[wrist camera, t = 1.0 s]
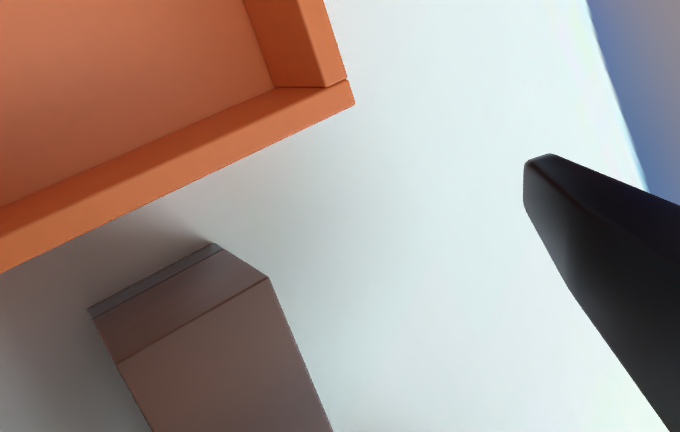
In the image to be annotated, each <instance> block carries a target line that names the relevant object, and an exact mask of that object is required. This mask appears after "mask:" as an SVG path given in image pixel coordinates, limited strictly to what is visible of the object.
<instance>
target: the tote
mask: <svg viewBox="0 0 680 432" xmlns="http://www.w3.org/2000/svg"><path fill="white" fill-rule="evenodd" d="M346 78H347V75H346V71H345V68H344V65H343V62H342V59H341V56H340V52H339V49H338V46H337V43H336V40H335V37H334V33H333V30H332V27H331V24H330V21H329V18H328V15H327V11H326V8H325V5H324V2H323V0H0V273H2V272H4V271H6V270H9V269H11V268H13V267H15V266H17V265H19V264H21V263H23V262H25V261H28V260H30V259H32V258H34V257H36V256H38V255H40V254H42V253H44V252H46V251H49V250H51V249H53V248H55V247H57V246H59V245H61V244H63V243H65V242H67V241H70V240H72V239H74V238H76V237H78V236H80V235H82V234H84V233H86V232H88V231H91V230H93V229H95V228H97V227H99V226H101V225H103V224H105V223H107V222H110V221H112V220H114V219H116V218H118V217H120V216H122V215H124V214H126V213H128V212H131V211H133V210H135V209H137V208H139V207H141V206H143V205H145V204H147V203H149V202H152V201H154V200H156V199H158V198H160V197H162V196H164V195H166V194H168V193H170V192H173V191H175V190H177V189H179V188H181V187H183V186H185V185H187V184H189V183H192V182H194V181H196V180H198V179H200V178H202V177H204V176H206V175H208V174H210V173H213V172H215V171H217V170H219V169H221V168H223V167H225V166H227V165H229V164H231V163H234V162H236V161H238V160H240V159H242V158H244V157H246V156H248V155H250V154H252V153H255V152H257V151H259V150H261V149H263V148H265V147H267V146H269V145H271V144H273V143H276V142H278V141H280V140H282V139H284V138H286V137H288V136H290V135H292V134H295V133H297V132H299V131H301V130H303V129H305V128H307V127H309V126H311V125H313V124H316V123H318V122H320V121H322V120H324V119H326V118H328V117H330V116H332V115H334V114H337V113H339V112H341V111H343V110H345V109H347V108H349V107H351V106H353V105H354V104H355V101H354V97H353V94H352V91H351V88H350V85H349V82H348V80H345V79H346Z"/></svg>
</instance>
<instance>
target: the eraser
mask: <svg viewBox="0 0 680 432" xmlns="http://www.w3.org/2000/svg"><path fill="white" fill-rule="evenodd" d="M87 313H88V315H89V317H90V319H91V321H92V322H93V324H94V326H95V328H96V330H97V332H98V334H99V336H100V338H101V340H102V342H103V343H104V345H105V347H106V349H107V351H108V353H109V355H110V357H111V359H112V361H113V363H114V364H115V366H116V368H117V370H118V372H119V373H120V375H121V377H122V379H123V380H124V382H125V384H126V386H127V388H128V389H129V391H130V393H131V395H132V396H133V398H134V400H135V402H136V403H137V405H138V407H139V409H140V411H141V412H142V414H143V416H144V418H145V419H146V421H147V423H148V425H149V426H150V428H151V430H152V432H333V430H332V428H331V425H330V423H329V420H328V418H327V416H326V413H325V411H324V408H323V406H322V404H321V401H320V399H319V397H318V394H317V392H316V389H315V387H314V385H313V382H312V380H311V377H310V375H309V373H308V370H307V368H306V366H305V363H304V361H303V358H302V356H301V354H300V351H299V349H298V346H297V344H296V342H295V339H294V337H293V334H292V332H291V330H290V327H289V325H288V323H287V320H286V318H285V315H284V313H283V311H282V308H281V306H280V303H279V301H278V299H277V296H276V294H275V291H274V289H273V287H272V284H271V282H270V280H269V277H267V276H266V275H264V274H263V273H261V272H260V271H258V270H257V269H255V268H253V267H252V266H250V265H249V264H247V263H246V262H244V261H242V260H241V259H239V258H238V257H236V256H235V255H233V254H231V253H230V252H228V251H227V250H225V249H223V248H222V247H220V246H219V245H217V244H215V243H212V244H210V245H208V246H206V247H204V248H202V249H201V250H199V251H197V252H195V253H193V254H191V255H189V256H187V257H185V258H183V259H182V260H180V261H178V262H176V263H174V264H172V265H170V266H168V267H166V268H164V269H163V270H161V271H159V272H157V273H155V274H153V275H151V276H149V277H147V278H145V279H144V280H142V281H140V282H138V283H136V284H134V285H132V286H130V287H128V288H126V289H125V290H123V291H121V292H119V293H117V294H115V295H113V296H111V297H109V298H107V299H106V300H104V301H102V302H100V303H98V304H96V305H94V306H92V307H90V308H88V309H87Z"/></svg>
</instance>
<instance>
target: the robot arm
mask: <svg viewBox="0 0 680 432" xmlns="http://www.w3.org/2000/svg"><path fill="white" fill-rule="evenodd" d="M523 203H524V207H525V210H526V212H527V214H528V216H529V218H530V220H531V221H532V223H533V225H534V227H535V229H536V231H537V232H538V234H539V236H540V238H541V240H542V242H543V243H544V245H545V247H546V249H547V251H548V253H549V254H550V256H551V258H552V260H553V262H554V264H555V265H556V267H557V269H558V271H559V273H560V275H561V276H562V278H563V280H564V282H565V283H566V285H567V287H568V289H569V290H570V292H571V293H572V295H573V296H574V298H575V299H576V300H577V302H578V303H579V305H580V306H581V308H582V309H583V310H584V312H585V313H586V315H587V316H588V317H589V319H590V320H591V322H592V323H593V324H594V326H595V327H596V329H597V330H598V331H599V333H600V334H601V336H602V337H603V339H604V340H605V341H606V343H607V344H608V346H609V347H610V348H611V350H612V351H613V353H614V354H615V355H616V357H617V358H618V360H619V361H620V362H621V364H622V365H623V367H624V368H625V369H626V371H627V372H628V374H629V375H630V376H631V378H632V379H633V381H634V382H635V384H636V385H637V386H638V388H639V389H640V391H641V392H642V393H643V395H644V396H645V398H646V399H647V400H648V402H649V403H650V405H651V406H652V407H653V409H654V410H655V412H656V413H657V414H658V416H659V417H660V419H661V420H662V421H663V423H664V424H665V426H666V427H667V429H668V430H669V431H670V432H680V206H679V205H677V204H674V203H672V202H670V201H667V200H664V199H662V198H660V197H657V196H655V195H652V194H650V193H648V192H645V191H643V190H640V189H638V188H635V187H633V186H630V185H628V184H626V183H623V182H621V181H618V180H616V179H613V178H611V177H609V176H606V175H604V174H601V173H599V172H596V171H594V170H591V169H589V168H587V167H584V166H582V165H579V164H577V163H574V162H572V161H569V160H567V159H565V158H562V157H560V156H557V155H554V154H545V155H542V156H539V157H536V158H533V159H530V160H528V161H527V162H526V163H525V165H524V175H523Z"/></svg>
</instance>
